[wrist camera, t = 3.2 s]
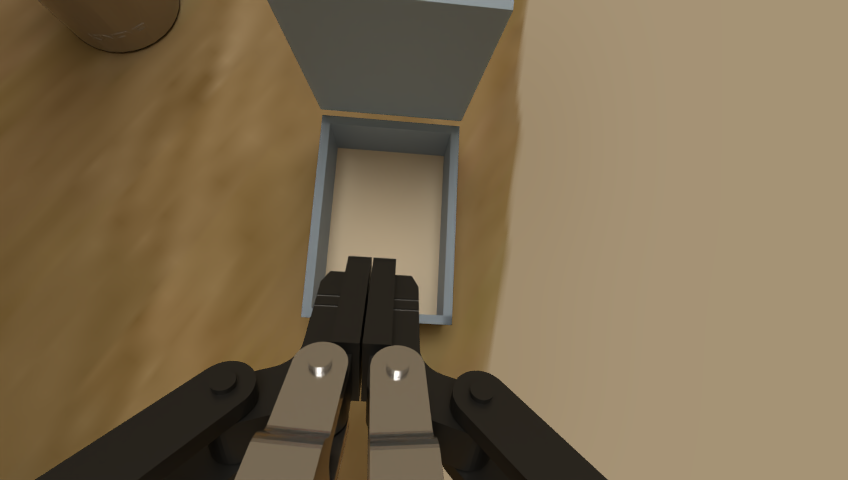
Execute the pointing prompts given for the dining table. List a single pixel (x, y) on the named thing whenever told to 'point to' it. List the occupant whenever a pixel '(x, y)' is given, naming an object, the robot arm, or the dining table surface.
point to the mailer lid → (393, 52)
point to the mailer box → (386, 205)
